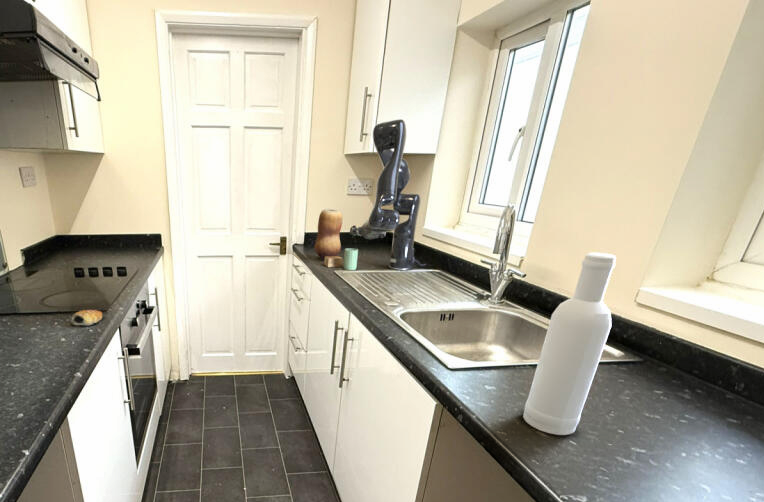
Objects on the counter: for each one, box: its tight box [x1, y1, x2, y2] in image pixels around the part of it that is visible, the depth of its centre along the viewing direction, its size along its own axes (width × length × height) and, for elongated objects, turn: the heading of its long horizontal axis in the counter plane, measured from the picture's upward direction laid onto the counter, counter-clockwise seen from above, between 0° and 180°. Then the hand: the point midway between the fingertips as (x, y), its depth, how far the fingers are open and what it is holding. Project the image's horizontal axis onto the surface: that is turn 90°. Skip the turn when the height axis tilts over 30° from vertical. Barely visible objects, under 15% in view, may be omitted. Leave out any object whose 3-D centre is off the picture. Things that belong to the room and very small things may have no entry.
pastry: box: [70, 309, 103, 327], centre depth 123 cm, size 9×7×4 cm
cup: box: [342, 247, 359, 271], centre depth 191 cm, size 6×6×9 cm
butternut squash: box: [314, 208, 343, 261], centre depth 210 cm, size 14×13×25 cm
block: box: [323, 255, 344, 268], centre depth 199 cm, size 7×6×4 cm
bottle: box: [522, 252, 617, 436], centre depth 68 cm, size 8×8×30 cm
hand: (364, 235), depth 178 cm, fingers open, 8 cm apart
